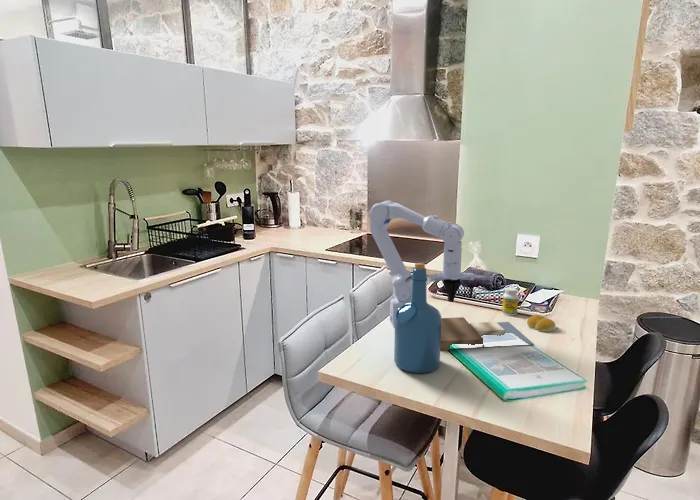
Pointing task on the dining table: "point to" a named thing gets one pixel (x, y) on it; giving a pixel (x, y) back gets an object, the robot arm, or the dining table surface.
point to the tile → (488, 328)
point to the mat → (514, 331)
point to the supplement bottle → (510, 302)
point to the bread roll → (541, 323)
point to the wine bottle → (418, 329)
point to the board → (458, 333)
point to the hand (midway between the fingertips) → (450, 300)
